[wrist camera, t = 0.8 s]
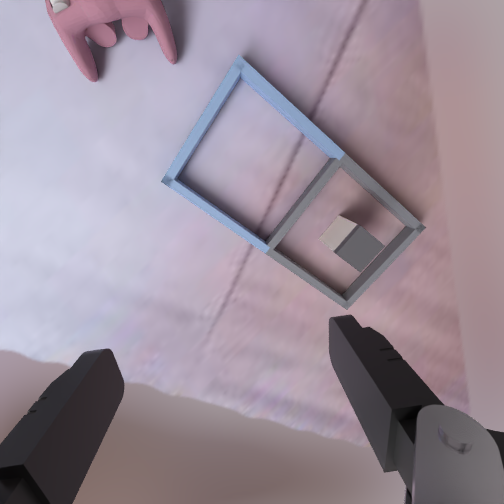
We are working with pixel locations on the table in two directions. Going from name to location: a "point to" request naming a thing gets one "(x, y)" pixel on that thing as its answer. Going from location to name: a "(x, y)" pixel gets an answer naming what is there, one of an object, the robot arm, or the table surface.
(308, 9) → the table surface
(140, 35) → the video game controller
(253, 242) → the two-cell open frame
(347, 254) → the grey rectangular block
